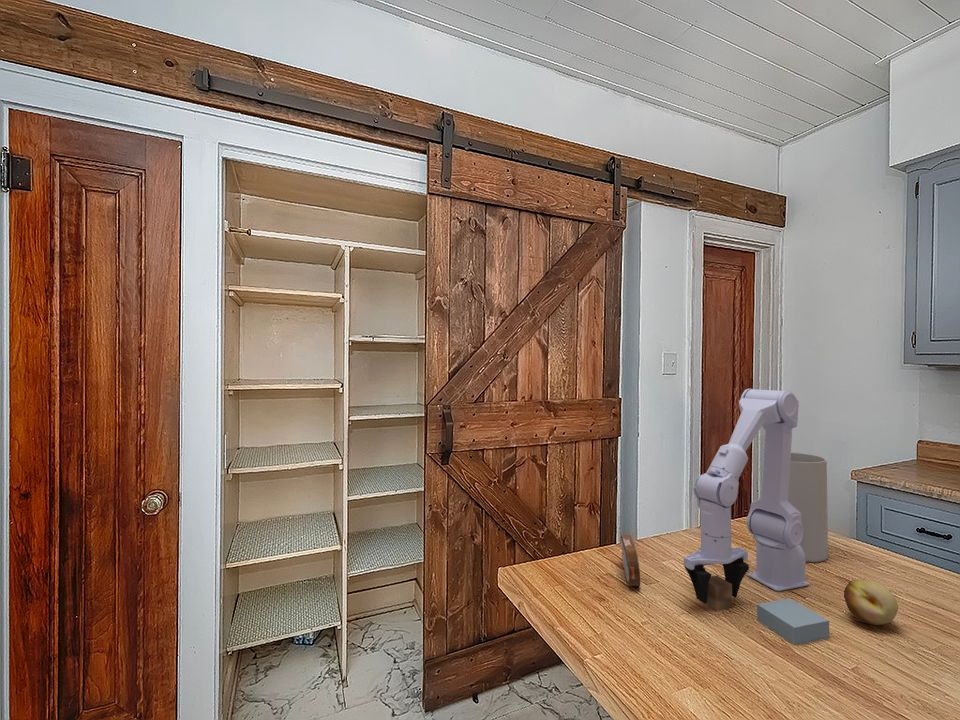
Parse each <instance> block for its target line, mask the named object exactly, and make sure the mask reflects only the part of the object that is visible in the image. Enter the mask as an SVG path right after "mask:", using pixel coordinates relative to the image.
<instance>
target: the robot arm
mask: <svg viewBox="0 0 960 720" xmlns="http://www.w3.org/2000/svg"><path fill="white" fill-rule="evenodd" d="M797 398H798V397H796V395H795V394H794V392H792V391H791V390H787V389H786V390H776V389H775V390H774V389H773V390H772V389H771V390H770V389H756V388H755V389H754V388H747V389H744V391H743V392H742V394H741V395H740V399H739V401H738V406H739V407H738V408H739V411H740V415H739V417H738V420H737V422H736V424H735V427H734V428H733V432H732V434H731V436H730V439H729V442H728V443H727V444H722V445H720V447H719V448H718V451H717V452H716V453H715V456H714V457H713V459H712V461H711V462H710V465H709V466H708V468H707V470H706V472H705V473H703V474H700V475H698V476H697V478H696V479H695V481H694V487H692V491H693V492H692V493H693V495H694V497H695V498H696V501H697V503H696V504H697V507H698V508H699V514H700V515H699V517H700V519H699V522H700V546H699V547H698V551H696V552H692V553H691V554H689V555H686V556H683V566H684V569H685V571H686V572H687V575H688V577H689V578H690V581H691V583H692V586H693V589H694V593H695V596H696V599H697V600H698V601H699V602H701V603H702V604H705V603H707V596H708V584H709V580H710V577H711V576H712V574H711V573H710V572H708V571H707V570H706V568H704V567H705V566H711V565H722V568H723V572H724V580H726V581H727V582H729V583H731V584H732V598H737V596H738V593H739V589H740V588H741V584H742V581H743V579H744V578H745V575H746V574H747V576H748V577H750V578H752V579H754V580H755V581H757V582H759V583H761V584H763V585H764V586H766V587H769V589H772V590H773V591H775V592H782V591H787V590H792V589H797V588H802V587H807V586H810V582H808V581H807V580H806V577H807V576H806V562H805V554H804V551H803V549H802V547H801V546H800V545H799V544H800V543H801V541H802V539H803V533H804V531H803V526H802V521H801V513H800V512H799V511H798V510H797V509H796V508H795V507H794V506H792V505H791V504H790V503H789V501H788V495H789V478H790V460H791V453H792V441H793V429H795V428H797V427H798V419H799V406H800V405H799V400H798V399H797ZM762 428H763V429H764V430H765V437H764V450H763V451H764V453H763V466H762V467H763V469H762V485H761V486H762V487H761V497H760V498H758V499H755V500H754V501H752V502H750V508H749V512H748V515H747V517H746V527H747V530H748V532H749V533H750V534H752V539H753V540H755V541H756V542H755V546H756V547H755V549H756V550H755V551H756V555H755V557H756V561H755V562H756V571H752V572H749V570H750V566H749V565H750V564H748V563H747V562H746V561H748V560H749V557H748V556H749V555H748V553H749V551H748V550H747V549H744V548H742V547H732V505H733V504H734V503H735V502H736V501H737V499H738V494H739V493H738V489H739V486H740V482H739V478H740V477H741V475H742V472H743V471H744V469H745V467H746V465H747V463H748V460H749V457H748V455H747V452H746V451H747V450H748V449H749V446H751V444H752V442H753V441H754V439H755V438H756V436H757V435H758V433H759V431H760V430H761V429H762ZM747 572H748V573H747Z"/></svg>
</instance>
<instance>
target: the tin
mask: <svg viewBox="0 0 960 720" xmlns="http://www.w3.org/2000/svg"><path fill="white" fill-rule="evenodd" d="M620 542H621V560H622V565H623V570H624V575H625V579H626V583H627V586H629V587H631V586H632V587H641V573H640V572H641V571H640V563H639V558H638V550H637V547H636V545H635V542H634V539H633V536H632V534H629V535H621V536H620Z"/></svg>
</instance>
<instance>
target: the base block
mask: <svg viewBox="0 0 960 720" xmlns="http://www.w3.org/2000/svg"><path fill="white" fill-rule="evenodd" d="M756 621H757V622H758V623H760V624H762V625H763V626H765V627H766V626H767V627H766V628H768V629H769V630H771V631H773V633H775V634H776V635H778V636H780V638H783V639H785V640H786V641H787V642H789V643H790V644H792V645H793V646H797V645H802V644H808V643H811V642H816V641H821V640H825V639H829V638H830V620H829V619H827V618H825V617H824V616H822V615H820V614H818V613H816V612H814V611H813V610H811V609H809V608H808V607H806V606H804V605H802V604H801V603H799V602H797V601H795V600H793V599H792V598H790V597H789V598H784V599H778V600H773V601H768V602H762V603H757V604H756Z"/></svg>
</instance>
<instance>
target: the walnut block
mask: <svg viewBox="0 0 960 720" xmlns="http://www.w3.org/2000/svg"><path fill="white" fill-rule="evenodd" d="M704 604H705V605H706V606H708V607H709V608H711V609H712V610H714V611H715V612H721V611H726V610H730V608H731V609H733V596H732V584H731V583H729V582H727V581H726V580H725V578H722V577H720V576H719V575H711V577H710V580H709V584H708V596H707V603H704Z"/></svg>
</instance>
